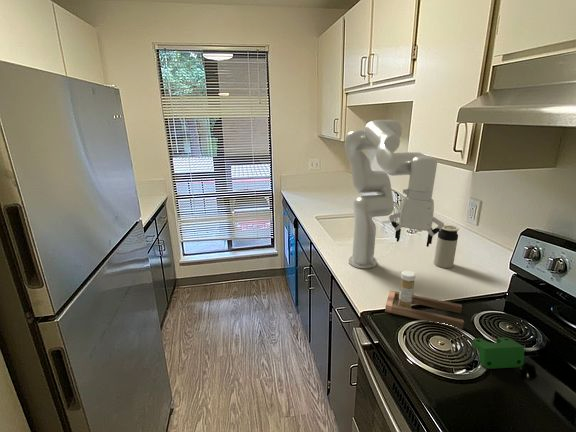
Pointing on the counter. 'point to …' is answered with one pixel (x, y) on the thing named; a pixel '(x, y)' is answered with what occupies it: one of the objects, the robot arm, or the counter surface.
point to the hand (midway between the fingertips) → (412, 242)
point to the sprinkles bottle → (406, 288)
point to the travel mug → (446, 246)
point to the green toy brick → (500, 353)
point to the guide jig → (422, 314)
